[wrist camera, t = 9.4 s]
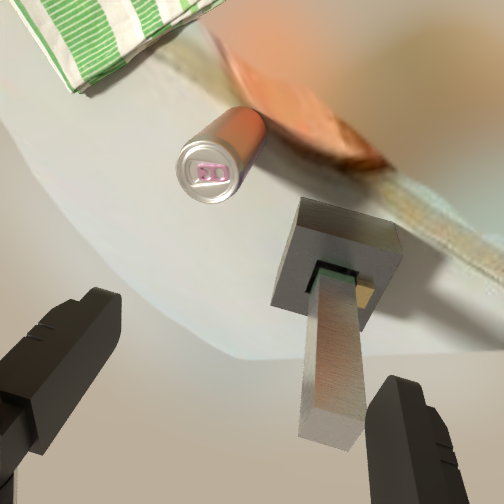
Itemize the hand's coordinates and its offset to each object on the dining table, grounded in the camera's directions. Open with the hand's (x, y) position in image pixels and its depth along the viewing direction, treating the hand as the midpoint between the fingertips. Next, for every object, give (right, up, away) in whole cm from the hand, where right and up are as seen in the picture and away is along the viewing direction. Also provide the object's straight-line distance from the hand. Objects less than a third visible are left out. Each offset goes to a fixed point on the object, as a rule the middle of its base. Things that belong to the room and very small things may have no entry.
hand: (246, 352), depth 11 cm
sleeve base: (+11, +4, +39) cm, 40 cm away
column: (+9, -1, +31) cm, 33 cm away
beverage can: (-1, +17, +33) cm, 37 cm away
